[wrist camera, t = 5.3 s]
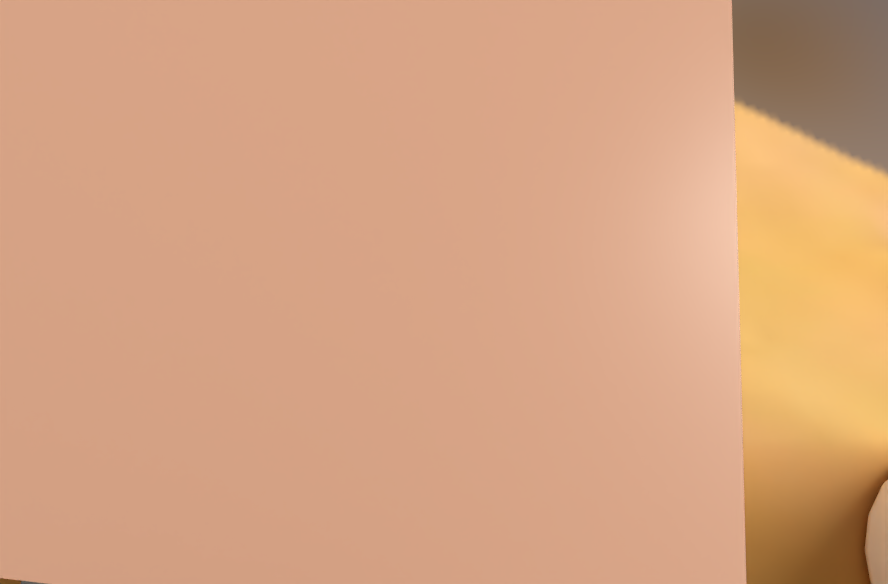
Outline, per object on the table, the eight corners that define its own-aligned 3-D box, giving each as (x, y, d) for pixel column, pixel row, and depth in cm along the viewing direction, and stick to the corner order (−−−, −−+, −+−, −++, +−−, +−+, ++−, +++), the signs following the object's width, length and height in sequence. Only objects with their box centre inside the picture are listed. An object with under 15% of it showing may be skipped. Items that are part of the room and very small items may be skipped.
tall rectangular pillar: (456, 494, 16) (746, 666, 2) (262, 470, 16) (-601, 504, 2) (476, 308, 17) (725, -235, 4) (300, 285, 17) (-82, -366, 4)
